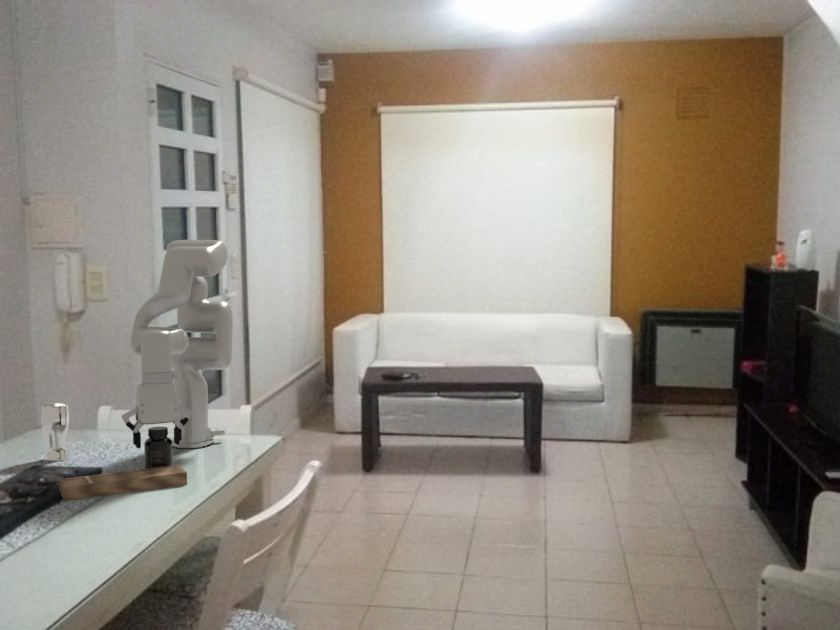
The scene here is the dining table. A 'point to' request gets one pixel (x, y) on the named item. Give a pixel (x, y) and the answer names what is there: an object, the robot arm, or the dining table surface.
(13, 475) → the dining table surface
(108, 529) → the dining table surface
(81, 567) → the dining table surface
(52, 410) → the beer glass
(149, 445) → the supplement bottle
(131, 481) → the walnut plank
